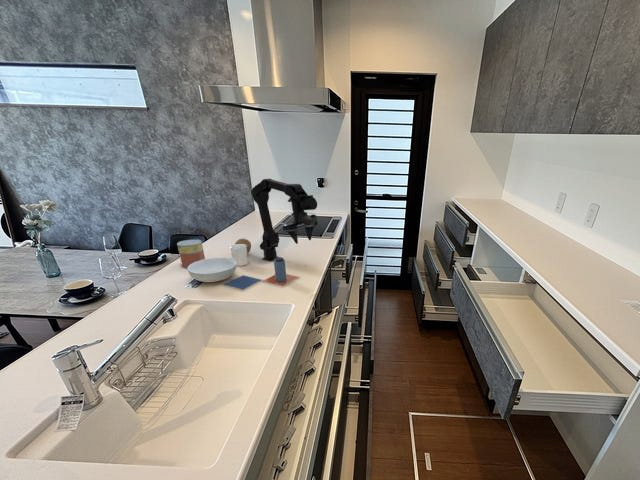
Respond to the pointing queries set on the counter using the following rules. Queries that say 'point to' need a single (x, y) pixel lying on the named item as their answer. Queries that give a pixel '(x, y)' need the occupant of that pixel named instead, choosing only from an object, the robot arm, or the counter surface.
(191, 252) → the canned food
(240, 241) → the natural sponge
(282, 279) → the blue mill
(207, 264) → the serving bowl
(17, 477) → the counter surface
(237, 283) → the blue mat
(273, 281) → the terracotta trivet
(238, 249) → the white cup
